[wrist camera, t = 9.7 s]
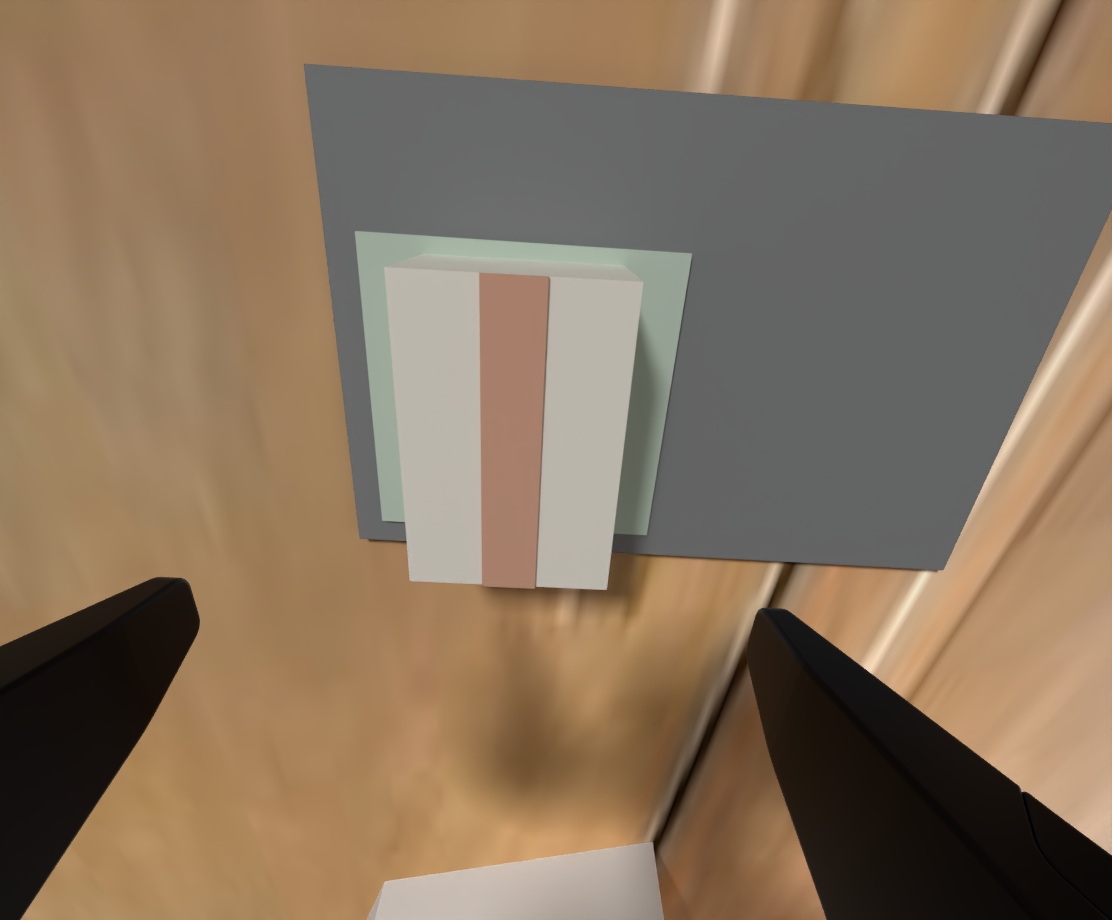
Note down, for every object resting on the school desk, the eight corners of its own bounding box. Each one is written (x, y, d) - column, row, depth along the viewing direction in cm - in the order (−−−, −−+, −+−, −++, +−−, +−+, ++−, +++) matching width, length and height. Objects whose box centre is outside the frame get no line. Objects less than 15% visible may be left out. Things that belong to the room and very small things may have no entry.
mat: (1135, 128, 15) (1158, 125, 14) (936, 564, 21) (946, 573, 21) (310, 67, 14) (300, 61, 14) (363, 532, 21) (358, 541, 20)
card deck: (597, 520, 20) (606, 592, 16) (437, 512, 20) (409, 583, 16) (624, 265, 16) (644, 282, 12) (424, 254, 16) (383, 267, 12)
